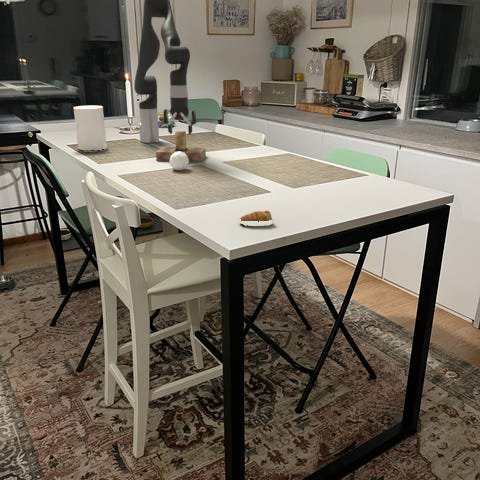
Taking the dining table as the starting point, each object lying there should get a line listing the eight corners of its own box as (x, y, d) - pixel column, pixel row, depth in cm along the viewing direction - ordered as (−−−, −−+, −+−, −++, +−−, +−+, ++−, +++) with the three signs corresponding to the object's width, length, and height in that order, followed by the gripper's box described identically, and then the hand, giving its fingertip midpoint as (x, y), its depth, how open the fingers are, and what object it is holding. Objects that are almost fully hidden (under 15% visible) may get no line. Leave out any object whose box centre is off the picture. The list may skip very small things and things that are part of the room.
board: (156, 160, 217) (155, 151, 215) (163, 155, 228) (163, 146, 227) (200, 162, 215) (200, 153, 213) (205, 156, 226) (205, 147, 224)
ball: (181, 177, 201) (179, 164, 194) (167, 168, 203) (164, 155, 197) (193, 165, 204) (191, 153, 197) (179, 157, 207) (176, 144, 200)
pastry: (242, 229, 137) (242, 216, 136) (236, 222, 143) (236, 209, 142) (274, 226, 140) (274, 214, 138) (266, 219, 146) (267, 207, 144)
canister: (99, 151, 235) (94, 109, 228) (73, 150, 238) (68, 108, 230) (111, 146, 247) (107, 105, 240) (86, 145, 250) (82, 105, 242)
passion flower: (162, 136, 306) (150, 121, 301) (165, 130, 315) (153, 115, 310) (176, 126, 302) (164, 110, 297) (178, 120, 312) (166, 105, 307)
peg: (176, 159, 220) (174, 132, 215) (178, 157, 224) (176, 131, 219) (184, 159, 219) (183, 132, 215) (186, 157, 223) (185, 131, 219)
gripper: (160, 96, 209) (162, 134, 215) (193, 97, 207) (194, 135, 213) (165, 94, 215) (166, 131, 222) (196, 95, 214) (197, 132, 220)
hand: (180, 133), depth 217 cm, fingers open, 8 cm apart
